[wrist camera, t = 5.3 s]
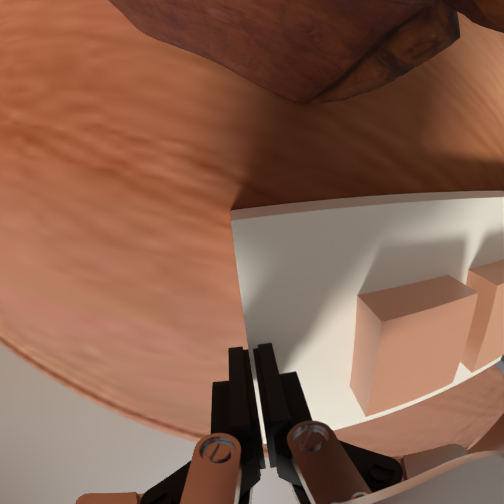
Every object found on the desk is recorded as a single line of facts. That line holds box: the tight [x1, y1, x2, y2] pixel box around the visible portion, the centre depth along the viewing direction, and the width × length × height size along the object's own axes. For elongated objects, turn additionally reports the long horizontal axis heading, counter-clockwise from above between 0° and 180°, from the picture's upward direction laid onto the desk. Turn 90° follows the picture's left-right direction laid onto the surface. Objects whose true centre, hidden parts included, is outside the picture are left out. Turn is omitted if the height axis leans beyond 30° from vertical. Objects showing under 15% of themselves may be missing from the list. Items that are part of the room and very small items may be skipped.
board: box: [230, 191, 504, 444], centre depth 13 cm, size 18×12×2 cm, turn 96°
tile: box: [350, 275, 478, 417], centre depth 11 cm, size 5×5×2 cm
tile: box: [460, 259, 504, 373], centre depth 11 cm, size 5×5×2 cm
